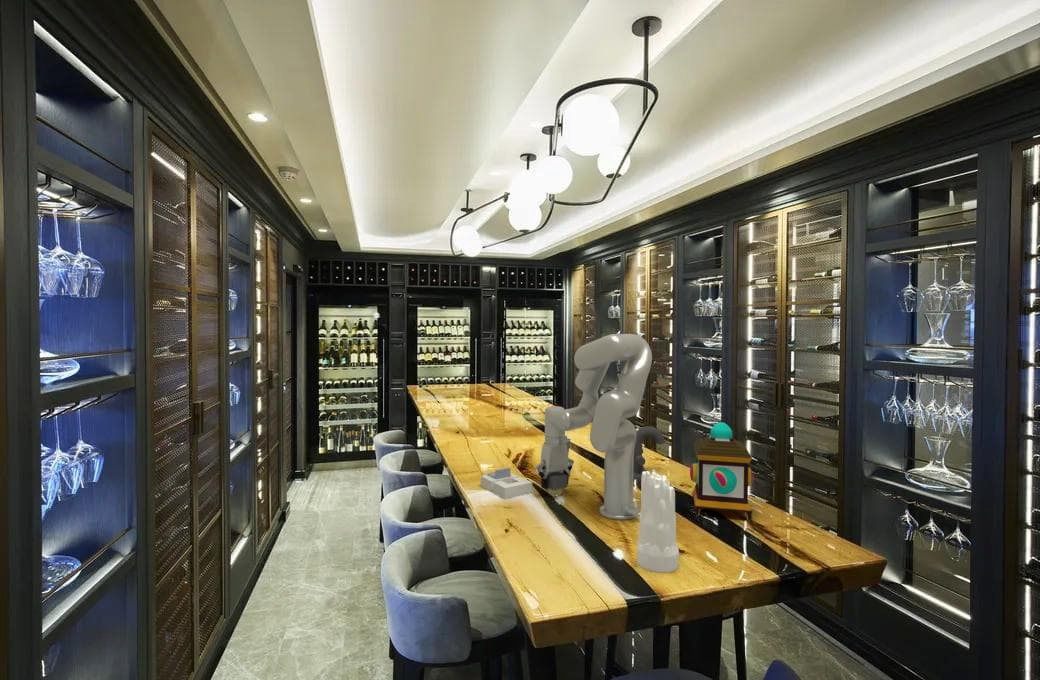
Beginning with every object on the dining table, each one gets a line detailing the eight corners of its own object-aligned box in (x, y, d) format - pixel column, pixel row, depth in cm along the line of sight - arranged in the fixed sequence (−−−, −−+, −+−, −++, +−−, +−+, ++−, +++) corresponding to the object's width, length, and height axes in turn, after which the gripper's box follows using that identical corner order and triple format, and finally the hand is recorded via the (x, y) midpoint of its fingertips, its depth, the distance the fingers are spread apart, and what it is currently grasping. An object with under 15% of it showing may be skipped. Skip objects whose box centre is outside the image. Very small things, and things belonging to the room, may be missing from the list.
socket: (532, 492, 197) (532, 482, 196) (505, 499, 190) (505, 488, 190) (506, 480, 212) (506, 470, 211) (480, 486, 205) (480, 475, 205)
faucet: (670, 480, 212) (670, 430, 212) (630, 479, 213) (631, 430, 212) (659, 467, 230) (659, 422, 230) (623, 467, 231) (623, 422, 230)
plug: (567, 495, 194) (567, 475, 194) (553, 498, 190) (553, 478, 190) (556, 490, 199) (556, 470, 199) (542, 493, 196) (542, 473, 196)
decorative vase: (671, 553, 145) (671, 464, 144) (684, 572, 135) (685, 475, 134) (632, 554, 145) (632, 464, 144) (642, 573, 134) (643, 476, 133)
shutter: (511, 476, 204) (511, 468, 204) (496, 479, 200) (496, 470, 200) (501, 472, 210) (501, 464, 209) (487, 474, 206) (487, 466, 206)
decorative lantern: (747, 502, 186) (749, 418, 185) (757, 523, 167) (758, 429, 165) (688, 497, 191) (689, 415, 190) (690, 517, 172) (691, 426, 171)
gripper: (566, 435, 202) (566, 479, 203) (529, 441, 192) (529, 487, 193) (579, 439, 196) (579, 484, 196) (542, 445, 186) (542, 493, 187)
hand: (554, 486), depth 195 cm, fingers open, 9 cm apart
